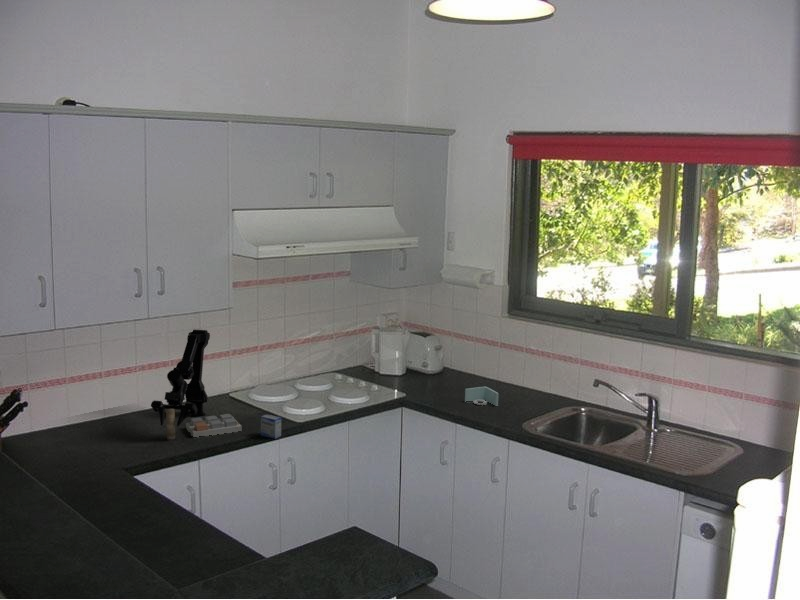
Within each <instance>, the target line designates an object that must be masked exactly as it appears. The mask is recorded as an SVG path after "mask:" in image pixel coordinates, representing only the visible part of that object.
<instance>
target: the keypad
mask: <svg viewBox="0 0 800 600" xmlns="http://www.w3.org/2000/svg"><path fill="white" fill-rule="evenodd" d="M200 422H205V423H206V424H207V430H204V431H196V430H195V427H194V423H200ZM242 428H243V426H242V424H240V422H239V421H237V420H236V418H234V416H233V415H232V414H231V413H225V414H220V415H219V418H218V417H217V416H216V415H209V416H205V419H204V420H203V418H202V417H200V416H198V417H192V418H190V422H186V423H185V429H186V430H187V431H188V433H189V432H190V433H191V434H190V433H189V434H190V436H191V437H192V436H193V437H197V438H200V437H199V436H205V437H210V436H209V435H212V436H218V435H217V434H219V435H225V434H224V433H227V434H232V432H234V433H239V432H238V431H241V432H242ZM193 437H192V438H193Z"/></svg>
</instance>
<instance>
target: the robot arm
mask: <svg viewBox="0 0 800 600" xmlns="http://www.w3.org/2000/svg"><path fill="white" fill-rule="evenodd" d="M210 338H211V333H210V332H208V330H207V329H193V330H192V331H189V332H188V335H187V338H186V340H187V341H186V345H185V347H184V351H183V355H182V358H181V360H180V361H179V362H178V363H177V364H176V366H175V367H173V369H172V370H169V371H168V373H167V375H166V379H167V380H168V382H169V384H170V386H172V388H171V389H172V390H171V391H168V392H167V391H166V392H165V395H164V401H166V403H167V404H166V403H163V401H162V400H152V402H151V403H150V407H151V408H152V410H153V412H155V413H158V414H159V420H160V421H159V422H160V426H163V424H164V422H165V420H166V410H167V409H175V410H179V411H180V414H179V416H178V418H177V423H176V427H179V426H180V425H181V424H182V423H183V421H185V420H186V419H187V418H188V417H192V418H195V417H200V416H206V413H205V412H204V404H205V403H207V402H208V394H207V392H206V389H205V388H206V387H205V384H204V383H203V381H202V378H203V367H204V366H203V365H204V352H205V349H206V348H207V346H208V344H209V341H210ZM186 380H187V381H186ZM189 380H190V381H189ZM188 381H189V382H188ZM187 382H188V383H187ZM184 401H186V402H185V404H183V403H184Z"/></svg>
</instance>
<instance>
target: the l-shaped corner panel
mask: <svg viewBox="0 0 800 600" xmlns="http://www.w3.org/2000/svg"><path fill="white" fill-rule="evenodd" d="M485 400H486V401H485ZM466 401H473V402H472V404H473V403H474V404H477V405H482V406H483V405H485V406H487V405H488V404H490V403H491V404H490V405H492V404H493V405H495V406H498V407H499V392H497V391H495V390H493V389H492V388H490V387H488V386H478V387H470V388H465V389H464V403H465V402H466ZM478 402H483V403H478ZM488 402H489V403H488ZM493 405H492V406H493ZM495 406H494V407H495Z"/></svg>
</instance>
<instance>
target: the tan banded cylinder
mask: <svg viewBox="0 0 800 600" xmlns="http://www.w3.org/2000/svg"><path fill="white" fill-rule="evenodd" d="M175 410H176V409H165V412H166V416H165V422H166V424H165V425H166V440H167V441H168V440H173V441H175V440H176V420H175V419H176V411H175ZM174 439H175V440H174Z"/></svg>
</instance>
